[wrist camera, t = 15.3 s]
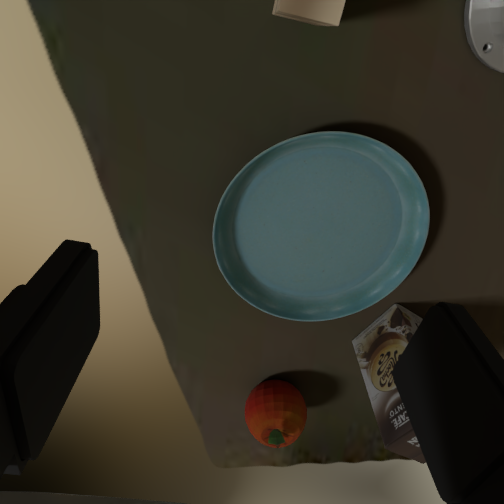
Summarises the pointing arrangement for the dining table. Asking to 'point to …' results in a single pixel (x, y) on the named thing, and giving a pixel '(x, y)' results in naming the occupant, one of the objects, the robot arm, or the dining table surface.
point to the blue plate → (321, 226)
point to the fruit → (275, 413)
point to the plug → (311, 11)
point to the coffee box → (389, 377)
